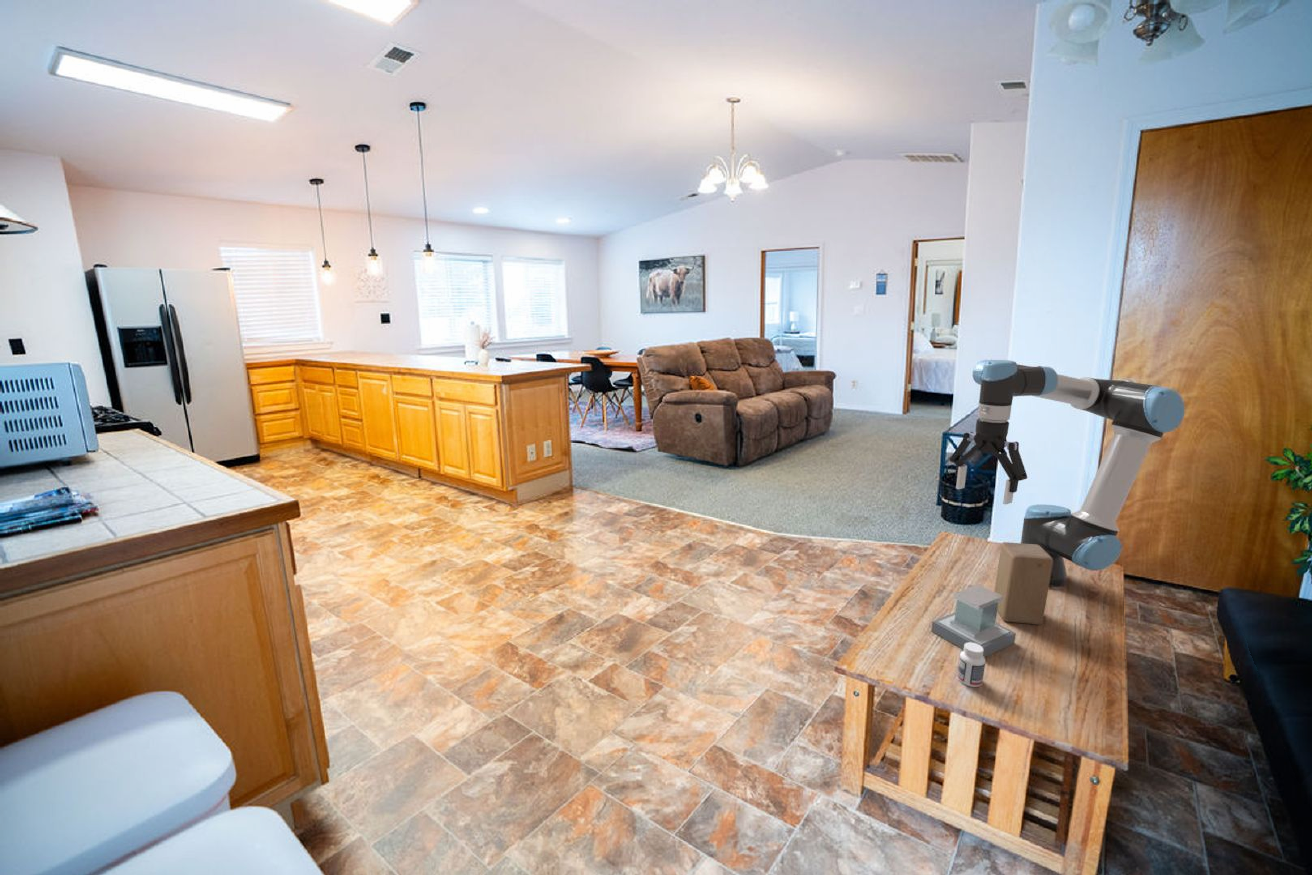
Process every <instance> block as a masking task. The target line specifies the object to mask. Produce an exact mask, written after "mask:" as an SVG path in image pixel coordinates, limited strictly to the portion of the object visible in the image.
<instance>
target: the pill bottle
mask: <svg viewBox="0 0 1312 875" xmlns="http://www.w3.org/2000/svg"><path fill="white" fill-rule="evenodd" d="M983 651H984V649H983V647H982V646H980V645H978V644H976V643H971V642H968V643H965V645H964V650H963V651H961V652H960V654H959V662H958V666H957V667H958V669H957V679H958V681H959V682H960V683H961V684H963V685H965V686H968V687H971V688H978V687H980V686H982V685H983V682H984V675H985V667H986V658H985V657H983Z"/></svg>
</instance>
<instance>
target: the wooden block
mask: <svg viewBox="0 0 1312 875" xmlns="http://www.w3.org/2000/svg"><path fill="white" fill-rule="evenodd" d="M1052 565H1053V559H1052V557H1051V556H1050V555H1049V554H1048V553H1047V552H1046V551H1045V550H1044V549H1043V548H1042V547H1041V546H1039V545H1037V544H1023V543H1021V542H1019V543H1018V542H1009V541H1007V542H1005V541H1004V542H1002V543H1001V546H1000V553H999V558H998V565H997V571H996V572H997V573H996V578H995V585H994V590H993V591H994V592H996V593H998V594H1000V595H1002V596H1003V600H1002V601H1000V602H998V608H997V613H998V614H999V616H1000V617H1001V618H1002V621H1005V622H1007V623H1009V622H1010V623H1019V624H1030V625H1042V624H1043V622H1044V615H1045V611H1046V604H1047V598H1048V593H1049V587H1050V586H1049V582H1050V577H1051V571H1052Z"/></svg>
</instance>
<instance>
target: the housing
mask: <svg viewBox="0 0 1312 875" xmlns="http://www.w3.org/2000/svg"><path fill="white" fill-rule="evenodd" d="M994 591H995V590H991V589H989V588H987V587H985V586H982V585H980V584H975V585H972V586H971V587H967V588H965V589H961V590H960V591H957V592H955V593H953V596H952V597H953V599H955V600H956V605H955V611H954V613H955V619H954V620H951V621H950V626H952V627H954V628H956V629H958V630H960V631H962V632H963V633H965V634H967V635H969V636H971V637H973V638H976V637H979V636H981V635H983V634H985V633H988V632H990V631H992V630H994V629H997V628H999V625H1000V623H999V622H997V621H996V620H997V613H998V611H997V608H998V602H1000V601H1002V600H1003V596H1002V595H1000V594H998V593H996V592H994Z"/></svg>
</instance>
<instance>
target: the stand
mask: <svg viewBox="0 0 1312 875" xmlns="http://www.w3.org/2000/svg"><path fill="white" fill-rule="evenodd" d="M954 619H955V612H952V613H949V614H947V615H945V616H943V617H940V618H937V619H935V620H933V621H932V622H931V629H930V630H931V631H930V632H932V633H934V634H935V635H938V636H939V637H941V638H942V639H944V640H946V641H947V642H949V643H951V644H953V645H954V646H956V647H958V648H960V649H962V650H963V651H964V645H965V643H968V642H971V643H976V644H978V645H980V646H982V647H983V649H984V651H983V657H984V658H985V657H987V656H990V655H992V654H994V653H997V652H999V651H1001V650H1004V649H1005V648H1007V647H1009V646H1012V645H1014V644H1015V641H1016V634H1017V633H1016V632H1015V631H1013V630H1010V629H1009V628H1007V627H1005V626H1003V625H1001V624H999V628H997V629H994V630H992V631H990V632H988V633H985V634H983V635H981V636H979V637H976V638H973V637H971V636H969V635H967V634H965V633H963V632H962V631H960V630H958V629H956V628H954V627H952V626H950V621H951V620H954Z"/></svg>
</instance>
